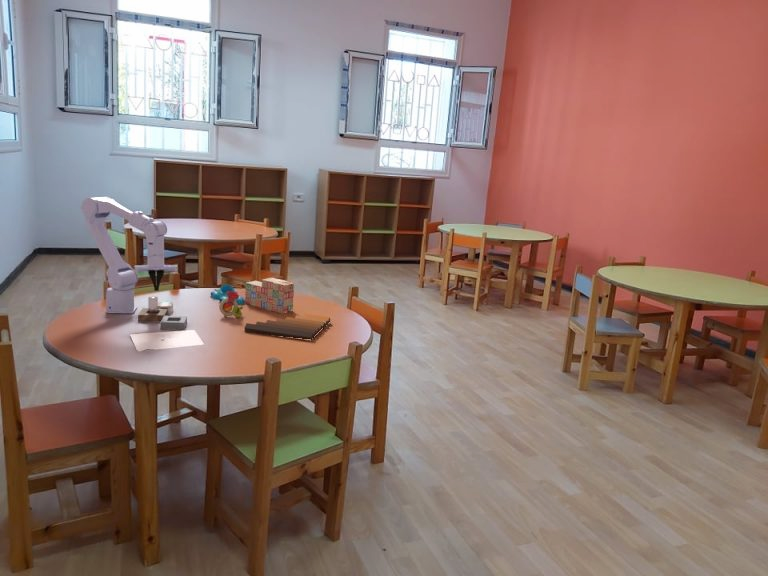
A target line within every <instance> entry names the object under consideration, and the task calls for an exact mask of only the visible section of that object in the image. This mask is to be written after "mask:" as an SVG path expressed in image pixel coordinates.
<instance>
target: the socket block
mask: <svg viewBox="0 0 768 576" xmlns="http://www.w3.org/2000/svg"><path fill="white" fill-rule="evenodd" d="M164 316H169V315H168V309H158V313H149V307H148V308H147V307H142V308H141V310H140V311H139V313H137V322H139V321H141V322H142V321H143V322H147V323H148V322H150V323H151V322H152V323H155V322H156V323H160V322H161V320H162V318H163V317H164ZM143 322H142V323H143Z"/></svg>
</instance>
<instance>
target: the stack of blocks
mask: <svg viewBox="0 0 768 576" xmlns="http://www.w3.org/2000/svg"><path fill="white" fill-rule="evenodd" d="M244 289H245V297H244V300H245V304H246V305H249V306H250V305H251V306H253V307H257V308H260V309H264V310H267V309H268V310H267V311H271V310H272V312H274V311H276V312H275V313H278V312H280V313H279V314H281V313H284V314H286V313H285V312H288V311H291V310H292V311H293V307H294V295H295V294H294V293H295V292H294V291H295V290H294V289H295V283H294V282H290V281H288V280H284V279H280V278H275V277H269V278H264V279H261V281H259V280H253V281H248V282H245V288H244ZM292 311H291V312H292ZM288 313H289V312H288Z"/></svg>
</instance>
